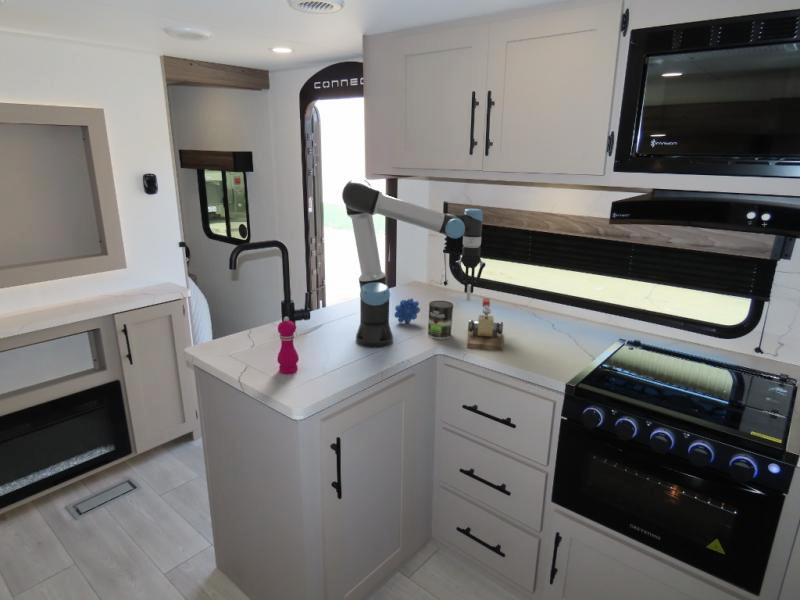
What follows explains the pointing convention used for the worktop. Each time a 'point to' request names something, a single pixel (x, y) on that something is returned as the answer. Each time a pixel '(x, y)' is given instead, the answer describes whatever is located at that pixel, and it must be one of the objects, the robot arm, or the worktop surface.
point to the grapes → (407, 310)
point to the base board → (484, 342)
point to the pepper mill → (287, 347)
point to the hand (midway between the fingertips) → (468, 299)
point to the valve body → (485, 326)
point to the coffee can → (440, 319)
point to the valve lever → (486, 305)
